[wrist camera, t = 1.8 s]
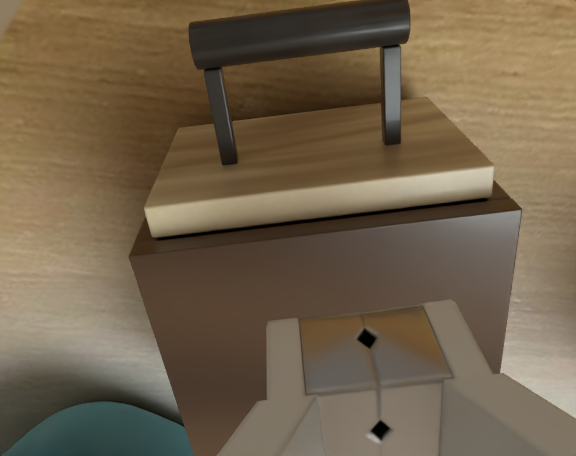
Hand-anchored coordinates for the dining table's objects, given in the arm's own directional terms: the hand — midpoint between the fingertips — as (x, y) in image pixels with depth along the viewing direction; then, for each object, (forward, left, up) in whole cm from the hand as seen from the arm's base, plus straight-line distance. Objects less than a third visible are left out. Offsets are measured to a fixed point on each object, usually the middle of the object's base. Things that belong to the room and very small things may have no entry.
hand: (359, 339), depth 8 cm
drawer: (+5, 0, -16) cm, 17 cm away
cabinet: (+10, 0, -17) cm, 20 cm away
